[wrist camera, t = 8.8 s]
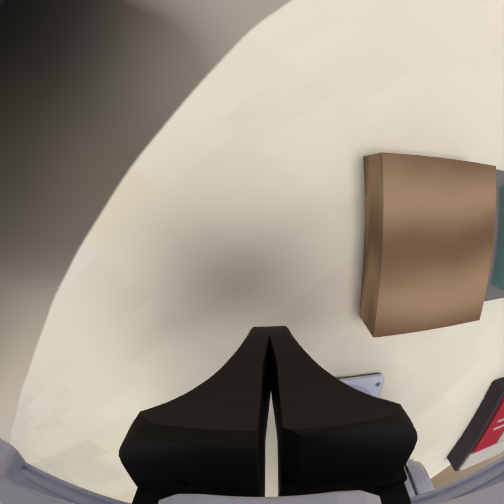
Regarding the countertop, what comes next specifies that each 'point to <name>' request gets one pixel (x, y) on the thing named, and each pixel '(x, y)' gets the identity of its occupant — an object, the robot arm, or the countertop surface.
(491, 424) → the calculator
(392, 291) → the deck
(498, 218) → the mat
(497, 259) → the block
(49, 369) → the countertop surface
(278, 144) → the countertop surface
